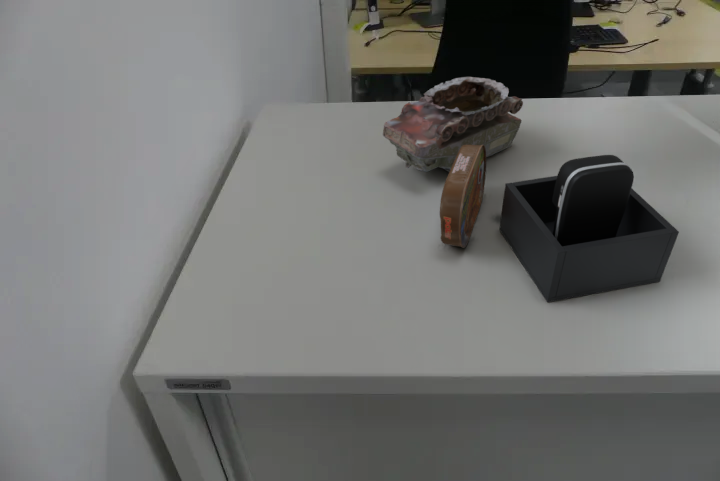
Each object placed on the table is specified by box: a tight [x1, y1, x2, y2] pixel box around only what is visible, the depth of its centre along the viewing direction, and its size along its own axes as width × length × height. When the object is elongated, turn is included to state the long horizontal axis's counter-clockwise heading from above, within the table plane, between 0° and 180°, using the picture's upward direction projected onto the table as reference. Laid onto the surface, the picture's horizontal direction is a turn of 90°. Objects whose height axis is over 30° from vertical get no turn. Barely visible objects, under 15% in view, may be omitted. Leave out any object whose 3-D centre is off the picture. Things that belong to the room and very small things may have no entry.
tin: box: [439, 145, 487, 248], centre depth 66 cm, size 15×3×8 cm, turn 160°
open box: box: [499, 175, 680, 303], centre depth 61 cm, size 13×13×7 cm
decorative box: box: [382, 76, 524, 173], centre depth 76 cm, size 13×20×10 cm, turn 120°
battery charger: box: [552, 154, 635, 247], centre depth 59 cm, size 7×4×11 cm, turn 99°
